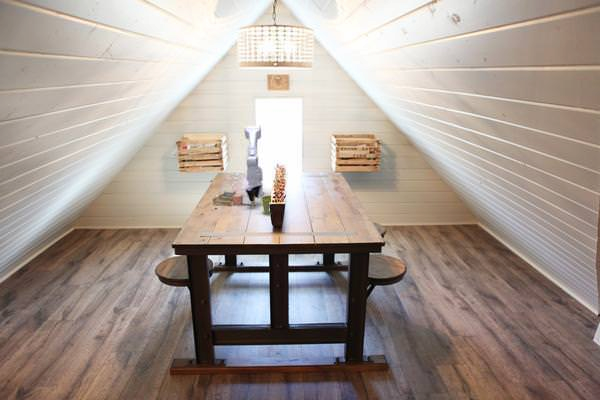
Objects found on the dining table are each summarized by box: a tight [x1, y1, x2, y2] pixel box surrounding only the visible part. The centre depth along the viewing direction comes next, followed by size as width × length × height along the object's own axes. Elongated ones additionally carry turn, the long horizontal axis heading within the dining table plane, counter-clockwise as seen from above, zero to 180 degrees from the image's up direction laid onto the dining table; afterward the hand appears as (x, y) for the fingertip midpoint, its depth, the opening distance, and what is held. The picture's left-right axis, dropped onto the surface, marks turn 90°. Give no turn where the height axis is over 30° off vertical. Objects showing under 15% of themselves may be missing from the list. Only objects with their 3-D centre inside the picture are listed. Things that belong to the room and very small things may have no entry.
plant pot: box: [260, 194, 271, 215], centre depth 251 cm, size 9×9×9 cm
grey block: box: [226, 189, 237, 198], centre depth 276 cm, size 4×4×6 cm
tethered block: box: [232, 193, 256, 207], centre depth 265 cm, size 4×13×6 cm, turn 75°
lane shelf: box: [212, 190, 233, 207], centre depth 272 cm, size 16×11×4 cm
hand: (254, 199), depth 264 cm, fingers open, 7 cm apart
